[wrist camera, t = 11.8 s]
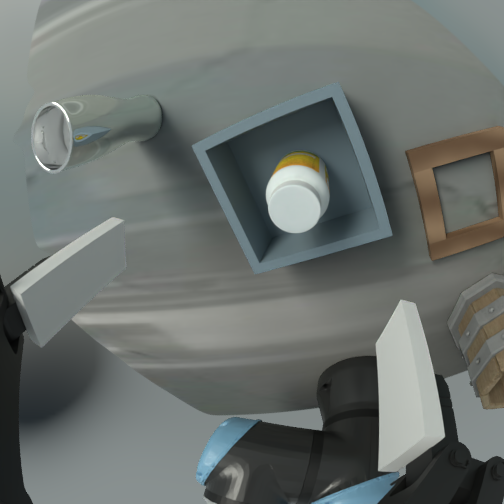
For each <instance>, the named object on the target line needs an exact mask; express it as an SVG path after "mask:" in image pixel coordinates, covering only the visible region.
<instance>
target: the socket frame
mask: <svg viewBox="0 0 504 504" xmlns="http://www.w3.org/2000/svg"><path fill="white" fill-rule="evenodd" d="M486 152H490V157H491V162H492V167H493V173H494V180H495V186H496V194H497V203H498V213H499V217H496V218H493V219H490V220H487V221H484V222H481V223H478V224H475V225H472V226H469V227H466V228H463V229H460V230H456V231H453V232H450V233H447V234H445V228H444V221H443V216H442V210H441V205H440V200H439V195H438V191H437V186H436V182H435V178H434V174H433V170H432V168H433V167H437V166H440V165H444V164H447V163H451V162H454V161H458V160H461V159H465V158H468V157H472V156H475V155H479V154H482V153H486ZM405 153H406V156H407V159H408V163H409V166H410V170H411V173H412V177H413V180H414V184H415V188H416V192H417V196H418V200H419V204H420V209H421V213H422V218H423V223H424V228H425V233H426V238H427V244H428V250H429V256H430V258H431V260H432V261H433V260H436V259H440V258H443V257H446V256H449V255H452V254H455V253H458V252H461V251H464V250H467V249H470V248H473V247H476V246H479V245H482V244H485V243H488V242H491V241H494V240H497V239H499V238H502V237H504V128H503V127H500V126H496V127H492V128H488V129H484V130H480V131H476V132H472V133H468V134H464V135H461V136H457V137H453V138H449V139H446V140H442V141H439V142H435V143H431V144H428V145H424V146H421V147H417V148H414V149H411V150H407V151H405Z"/></svg>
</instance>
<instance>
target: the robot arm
mask: <svg viewBox="0 0 504 504" xmlns="http://www.w3.org/2000/svg"><path fill="white" fill-rule="evenodd" d="M126 268H127V267H126V251H125V227H124V220H121V219H118V218H114V217H112V218H110V219H108V220H107V221H105V222H103V223H102V224H100V225H99V226H97V227H95V228H94V229H92V230H91V231H89V232H87V233H86V234H84V235H83V236H81V237H80V238H78V239H76V240H75V241H73V242H72V243H70V244H69V245H67V246H66V247H64V248H63V249H61V250H60V251H58V252H57V253H55V254H54V255H52V256H49V257H47V258H44V259H42V260H41V261H39V262H38V263H36V264H35V266H32V267H31V268H30V269H28V271H25V272H24V273H23V274H21V275H20V276H19V277H17V278H16V279H15V280H13V281H12V282H11V283H9V284H8V285H7V286H5V287H4V285H3V282H2V279H1V276H0V504H33V503H32V501H31V499H30V497H29V495H28V494H27V492H26V490H25V488H24V484H23V476H22V469H21V458H20V444H19V386H20V371H21V360H22V351H23V343H24V336H23V334H22V333H23V332H24V331H25V330H27V333H28V335H29V337H30V339H31V340H32V341H33V342H34V343H36V344H37V345H39V346H40V347H41V348H42V347H43V346H44V345H45V344H46V343H47V342H48V341H49V340H50V339H51V338H52V337H53V336H54V335H55V334H56V333H57V332H58V331H59V330H60V329H61V328H62V327H63V326H64V325H65V324H66V323H67V322H68V321H69V320H70V319H71V318H72V317H73V316H75V315H76V314H77V313H78V312H79V311H80V310H81V309H82V308H83V307H84V306H85V305H86V304H87V303H88V302H89V301H90V300H92V299H93V298H94V297H95V296H96V295H97V294H98V293H99V292H100V291H101V290H102V289H104V288H105V287H106V286H107V285H108V284H109V283H110V282H111V281H112V280H114V279H115V278H116V277H117V276H118V275H119V274H120V273H121V272H123V271H124V270H125V269H126ZM376 354H377V357H371V356H365V357H355V358H350V359H346V360H343V361H340V362H338V363H336V364H334V365H332V366H331V367H329V368H328V369H327V370H325V371H324V372H323V374H322V375H321V376H320V378H319V381H318V387H317V400H318V404H319V408H320V412H321V416H322V420H323V429H322V431H319V430H312V429H304V428H297V427H290V426H284V425H278V424H272V423H266V422H262V420H259V419H258V420H251V419H245V418H239V417H233V418H229V419H227V420H225V421H224V422H223V423H222V424H221V425H220V426H219V427H218V428H217V429H216V430H215V432H214V433H213V435H212V436H211V438H210V439H209V441H208V443H207V445H206V447H205V449H204V451H203V453H202V455H201V458H200V461H199V463H198V467H197V469H198V471H197V473H196V479H197V481H198V482H199V483H201V485H204V486H206V489H205V493H204V496H203V498H204V500H205V501H206V502H207V504H502V502H503V498H504V459H502V458H501V457H498V456H495V457H492V458H491V459H489V460H488V461H486V462H482V461H479V460H476V459H473V458H471V454H470V451H469V449H468V448H467V447H466V446H465V445H464V444H462V443H461V442H459V441H458V435H457V429H456V423H455V417H454V412H453V409H452V402H451V399H450V392H449V388H448V385H447V383H446V382H445V380H444V378H443V376H442V375H437V374H434V371H433V366H432V362H431V358H430V354H429V350H428V346H427V342H426V338H425V334H424V331H423V327H422V324H421V320H420V317H419V314H418V310H417V307H416V304H415V303H412V302H409V301H405V300H400V302H399V304H398V306H397V307H396V309H395V311H394V313H393V315H392V317H391V318H390V320H389V322H388V324H387V326H386V327H385V329H384V331H383V332H382V334H381V336H380V338H379V339H378V341H377V343H376ZM405 466H406V474H405V475H403V476H402V477H400V478H398V477H399V472H398V471H399V470H400V469H402V468H403V467H405Z"/></svg>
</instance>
